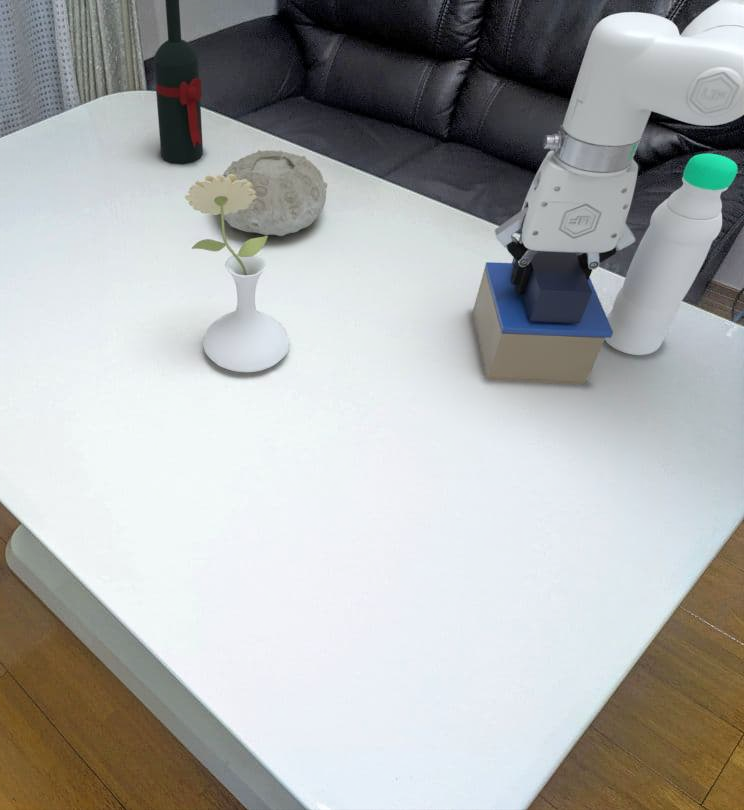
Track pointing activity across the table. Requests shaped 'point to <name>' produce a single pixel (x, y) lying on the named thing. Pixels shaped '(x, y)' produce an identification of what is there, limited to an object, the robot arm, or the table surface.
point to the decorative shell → (278, 193)
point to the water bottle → (670, 256)
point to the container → (530, 349)
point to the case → (556, 288)
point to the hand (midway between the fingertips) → (545, 288)
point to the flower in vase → (238, 285)
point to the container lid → (518, 321)
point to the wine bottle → (178, 94)
